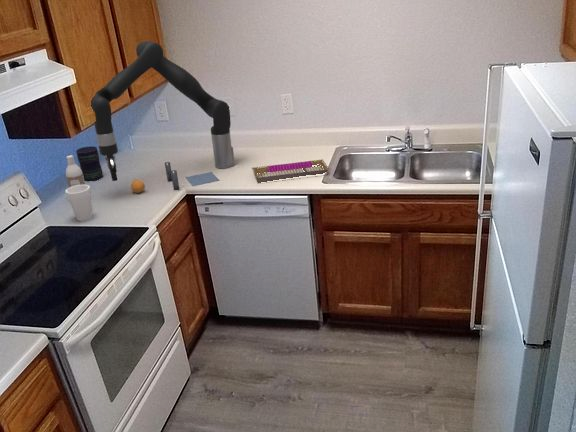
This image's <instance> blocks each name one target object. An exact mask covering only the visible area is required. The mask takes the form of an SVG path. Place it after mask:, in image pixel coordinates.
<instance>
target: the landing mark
mask: <svg viewBox="0 0 576 432" xmlns="http://www.w3.org/2000/svg"><path fill="white" fill-rule="evenodd" d="M185 179H186V180H187V181H188V182H189V184H190V185H191V186H192V187H195V186H199V185H204V184H211V183H213V182H218V181H220V179H219V178H218V177H217V176H216V175H215V174H214V173H213V172H212V171H209V172H204V173H198V174H195V175H190V176H185Z"/></svg>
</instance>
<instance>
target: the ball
mask: <svg viewBox="0 0 576 432" xmlns="http://www.w3.org/2000/svg"><path fill="white" fill-rule="evenodd" d="M130 188H131V190H132V192H134V193H135V194H137V193H138V194H140V193H142V192H143V191H144V190H145V183H144V181H143V180H141V179H135V180H133V181H132V182H131V184H130Z"/></svg>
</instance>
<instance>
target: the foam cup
mask: <svg viewBox="0 0 576 432" xmlns="http://www.w3.org/2000/svg"><path fill="white" fill-rule="evenodd" d="M64 191H65V195H66V198H67V200H68V202H69V205H70V207H71V209H72V212H73V213H74V216H75V219H76V220H77V221H78V222H86V221H89V220H91V219H93V217H94V216H93V215H94V214H93V213H94V212H93V204H92V203H93V202H92V194H91V193H92V190H91V186H90V185H89V184H85V185H76V186H72V187H70V188H69V187H68V188H66V190H64Z"/></svg>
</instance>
